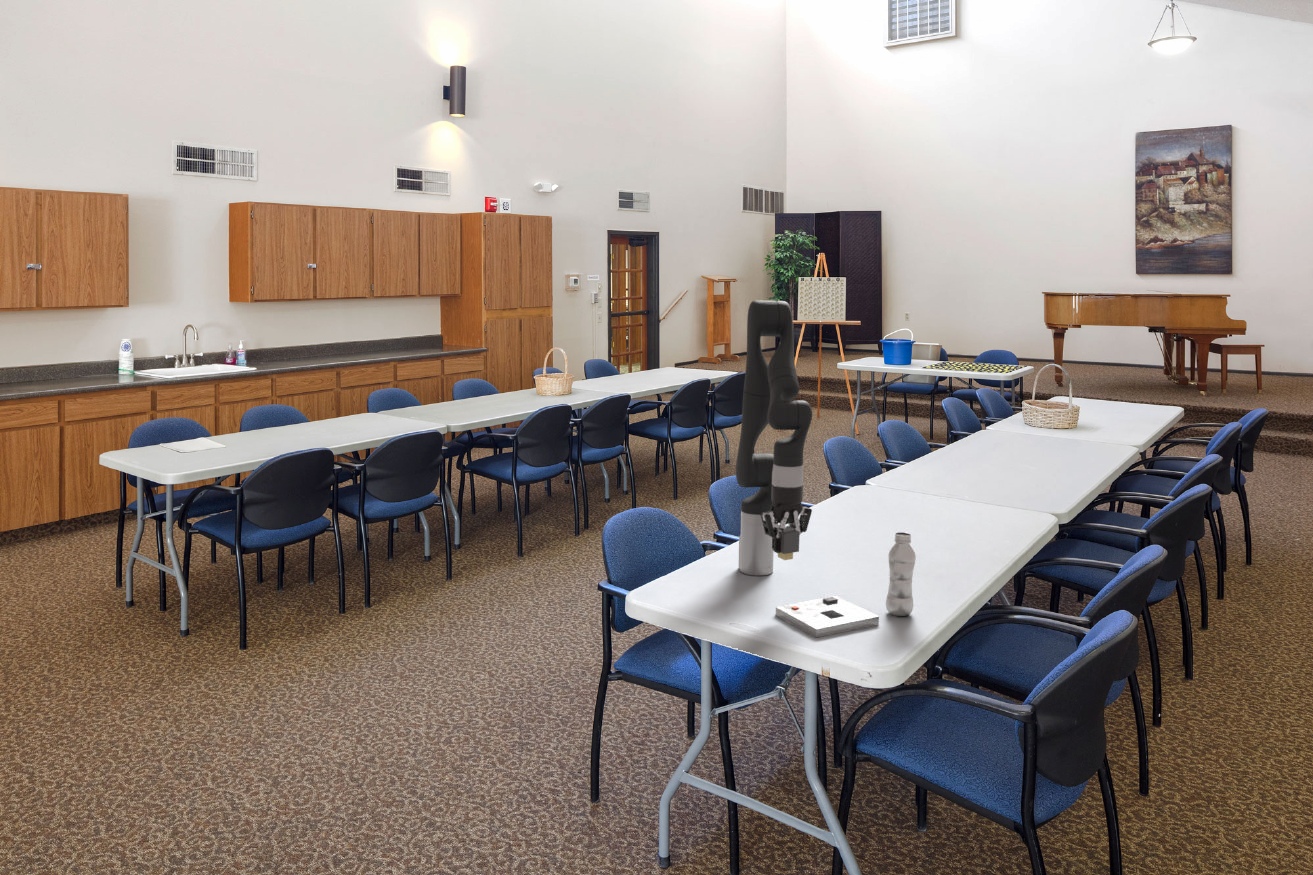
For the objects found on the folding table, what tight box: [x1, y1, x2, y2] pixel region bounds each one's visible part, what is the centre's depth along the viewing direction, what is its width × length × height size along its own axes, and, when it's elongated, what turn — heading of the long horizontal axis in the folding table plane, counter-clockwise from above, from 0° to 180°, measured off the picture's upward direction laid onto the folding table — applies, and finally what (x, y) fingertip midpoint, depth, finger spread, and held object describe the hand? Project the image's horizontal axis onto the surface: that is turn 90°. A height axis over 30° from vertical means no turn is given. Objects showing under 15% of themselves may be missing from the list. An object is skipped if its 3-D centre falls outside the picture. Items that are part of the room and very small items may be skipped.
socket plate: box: [775, 595, 880, 638], centre depth 211 cm, size 16×18×3 cm
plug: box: [777, 525, 801, 561], centre depth 217 cm, size 5×4×8 cm
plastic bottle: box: [885, 531, 917, 617], centre depth 213 cm, size 6×7×20 cm
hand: (785, 550), depth 217 cm, fingers closed on plug, 4 cm apart
